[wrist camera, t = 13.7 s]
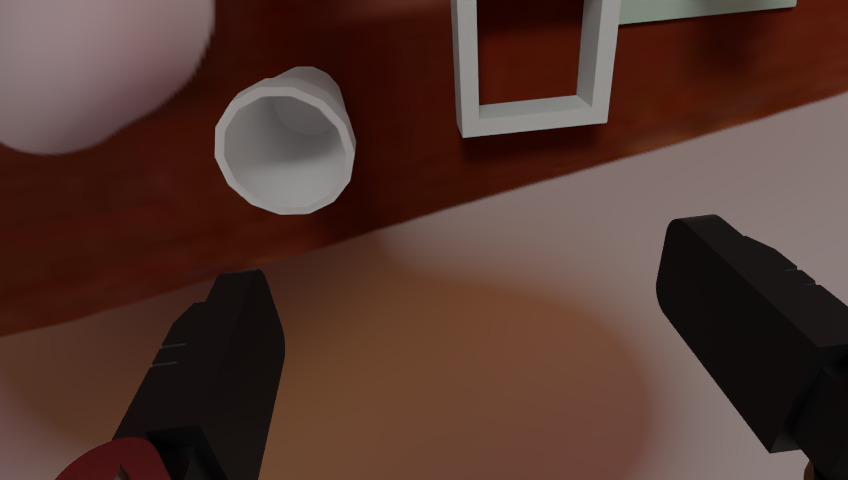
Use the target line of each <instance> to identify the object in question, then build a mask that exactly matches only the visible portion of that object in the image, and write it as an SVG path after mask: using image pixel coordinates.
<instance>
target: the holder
mask: <svg viewBox="0 0 848 480" xmlns="http://www.w3.org/2000/svg"><path fill="white" fill-rule="evenodd" d="M620 6H621V0H584V8H583V21H582V33H581V45H580V58H579V70H578V82H577V94H576V95H575V96H565V97H556V98H546V99H537V100H527V101H518V102H509V103H499V104H490V105H480V106H479V93H478V51H477V8H476V0H451V15H452V36H453V56H454V77H455V98H456V118H457V125H458V128H459V130H460V132H461V135H462V137H463V138H467V137H476V136H485V135H495V134H504V133H514V132H523V131H532V130H542V129H551V128H560V127H570V126H579V125H588V124H598V123H607V117H608V108H609V100H610V91H611V83H612V74H613V66H614V57H615V49H616V40H617V32H618V23H619V15H620Z"/></svg>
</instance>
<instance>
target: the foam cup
mask: <svg viewBox="0 0 848 480" xmlns="http://www.w3.org/2000/svg"><path fill="white" fill-rule="evenodd" d="M355 147H356V140H355V136H354V133H353V130H352V127H351V124H350V120H349V117H348V114H347V113H346V109H345V105H344V101H343V98H342V95H341V92H340V88H339V86H338V85H337V84H336V82H335V81H334V80H333V79H332V78H331V77H330V76H329V75H328V74H327V73H325V72H323V71H321V70H319V69H317V68H314V67H294V68H292V69H290V70H288V71H286V72H284V73H282V74H280V75H278V76H276V77H274V78H266V79H264V80H262V81H260V82H258V83H256V84H254V85H253V86H251V87H249V88H247V89H245V90H243V91H241V92H240V93H239V94H238V95H237V96H236V97H235V98H234V99H233V100H232V101H231V103H230V104H229V106H228V108H227V109H226V111H225V113H224V114H223V116H222V118H221V119H220V121H219V122H218V124H217V126H216V127H215V158H216V160H217V162H218V164H219V166H220V168H221V170H222V173H223V175H224V177H225V179H226V181H227V183H228V184H229V185H230V186H231V187H232V188H233V189H234V190H235V191H237V192H238V193H239V194H240V195H241V196H242V197H243V198H245V199H246V200H247V201H248V202H249V203H250V204H252V205H254V206H257V207H260V208H263V209H266V210H268V211H271V212H274V213H277V214H279V215H285V214H309V213H311V212H314V211H316V210H318V209H320V208H322V207H324V206H326V205H328V204H330V203H332V202H334V201H335V200H336V198H337V197H338V196H339V194H340V193H341V192H342V191H343V189H344V188H345V187H346V186H347V184H348V183H349V182H350V179H351V173H352V167H353V161H354V155H355Z"/></svg>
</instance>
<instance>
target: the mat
mask: <svg viewBox="0 0 848 480" xmlns="http://www.w3.org/2000/svg"><path fill="white" fill-rule="evenodd" d="M796 2H797V0H621V6H620V15H619V23H618V24H628V23H638V22H647V21H657V20H667V19H677V18H687V17H696V16H706V15H716V14H726V13H736V12H745V11H755V10H765V9H775V8H784V7H794V6H796Z"/></svg>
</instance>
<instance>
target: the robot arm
mask: <svg viewBox="0 0 848 480" xmlns="http://www.w3.org/2000/svg"><path fill="white" fill-rule="evenodd" d="M656 293H657V298H658V302H659V305H660V307H661V309H662V312H663V313H664V314H665V316H666V317H667V318H668V320H669V321H670V322H671V324H672V325H673V326H674V328H675V329H676V330H677V332H678V333H679V334H680V336H681V337H682V338H683V340H684V341H685V342H686V343H687V345H688V346H689V348H690V349H691V350H692V351H693V353H694V354H695V355H696V357H697V358H698V359H699V361H700V362H701V363H702V365H703V366H704V367H705V369H706V370H707V371H708V372H709V374H710V375H711V377H712V378H713V379H714V380H715V382H716V383H717V385H718V386H719V387H720V388H721V390H722V391H723V392H724V394H725V395H726V396H727V398H728V399H729V400H730V402H731V403H732V404H733V406H734V407H735V408H736V410H737V411H738V412H739V413H740V415H741V416H742V417H743V419H744V420H745V421H746V423H747V424H748V426H749V427H750V428H751V429H752V431H753V432H754V433H755V434H756V436H757V437H758V439H759V440H760V441H761V443H762V444H763V445H764V447H765V448H766V449H767V451H768V452H769V453H777V452H785V451H792V450H799V449H801V450H802V451H803V452H804V454H805V455H806V456H807V457H808V458H809V462H808V464H807V466H806V468H805V470H804V480H848V306H846V305H845V304H844V303H842V302H841V301H840V300H839V299H838V298H836V297H835V296H834V295H833V294H831V293H830V292H829V291H827V290H826V289H825V288H824V287H822V286H821V285H816V284H815V280H813V279H812V278H811V277H810V276H808V275H807V274H806V273H805V272H803V271H802V270H797V266H796V265H795V264H793V263H792V262H791V261H789V260H788V259H787V258H786V257H784V256H783V255H782V254H781V253H779V252H778V251H777V250H775V249H774V248H771V247H769V246H767V245H765V244H763V243H760V242H758V241H756V240H754V239H752V238H750V237H747V236H743V235H742V234H740V233H739V232H738V231H737V230H735V229H734V228H733V227H732V226H731V225H729V224H728V223H727V222H726V221H724V220H723V219H722V218H721V217H719V216H717V215H704V216H696V217H688V218H679V219H674V220H672V221H671V222H670V224H669V225H668V228H667V231H666V236H665V241H664V246H663V251H662V256H661V262H660V266H659V271H658V277H657V282H656ZM284 357H285V339H284V333H283V329H282V325H281V322H280V319H279V316H278V313H277V310H276V307H275V304H274V301H273V298H272V295H271V292H270V289H269V286H268V283H267V280H266V277H265V275H264V273H263V272H262V271H261V270H260V269H256V270H248V271H239V272H231V273H223V274H220V275H218V276H217V278H216V280H215V282H214V284H213V287H212V289H211V291H210V293H209V295H208V297H207V299H206V301H205V302H199V303H194V304H193V305H192V306H191V307H189V308H188V309H187V310H186V311H185V312H184V313H183V314H182V315H181V316H180V317H179V318H178V319H177V320H176V321H175V322H174V323H173V324H172V326H171V328H170V330H169V332H168V334H167V336H166V338H165V340H164V342H163V343H162V349H159V351H158V353H157V355H156V357H155V359H154V361H153V362H152V364H153V367H151V368H149V370H148V372H147V374H146V376H145V378H144V380H143V382H142V383H141V385H140V387H139V389H138V391H137V393H136V395H135V397H134V399H133V401H132V403H131V404H130V406H129V408H128V410H127V412H126V414H125V416H124V418H123V419H122V421H121V423H120V425H119V427H118V429H117V431H116V433H115V435H114V437H113V438H112V440H111V441H109V442H106V443H103V444H101V445H99V446H97V447H95V448H93V449H91V450H89V451H88V452H86V453H84V454H83V455H81V456H80V457H78V458H77V459H76V460H74V461H73V462H72V463H71V464H69V465H68V466H67V467H66V468H65V469H64V470H63V471H62V472H61V473H60V474H59V475H58V476H57V477H56V479H55V480H258V477H259V473H260V468H261V464H262V459H263V455H264V450H265V445H266V441H267V436H268V432H269V427H270V423H271V418H272V413H273V409H274V404H275V400H276V395H277V390H278V386H279V382H280V377H281V372H282V368H283V363H284Z"/></svg>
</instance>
